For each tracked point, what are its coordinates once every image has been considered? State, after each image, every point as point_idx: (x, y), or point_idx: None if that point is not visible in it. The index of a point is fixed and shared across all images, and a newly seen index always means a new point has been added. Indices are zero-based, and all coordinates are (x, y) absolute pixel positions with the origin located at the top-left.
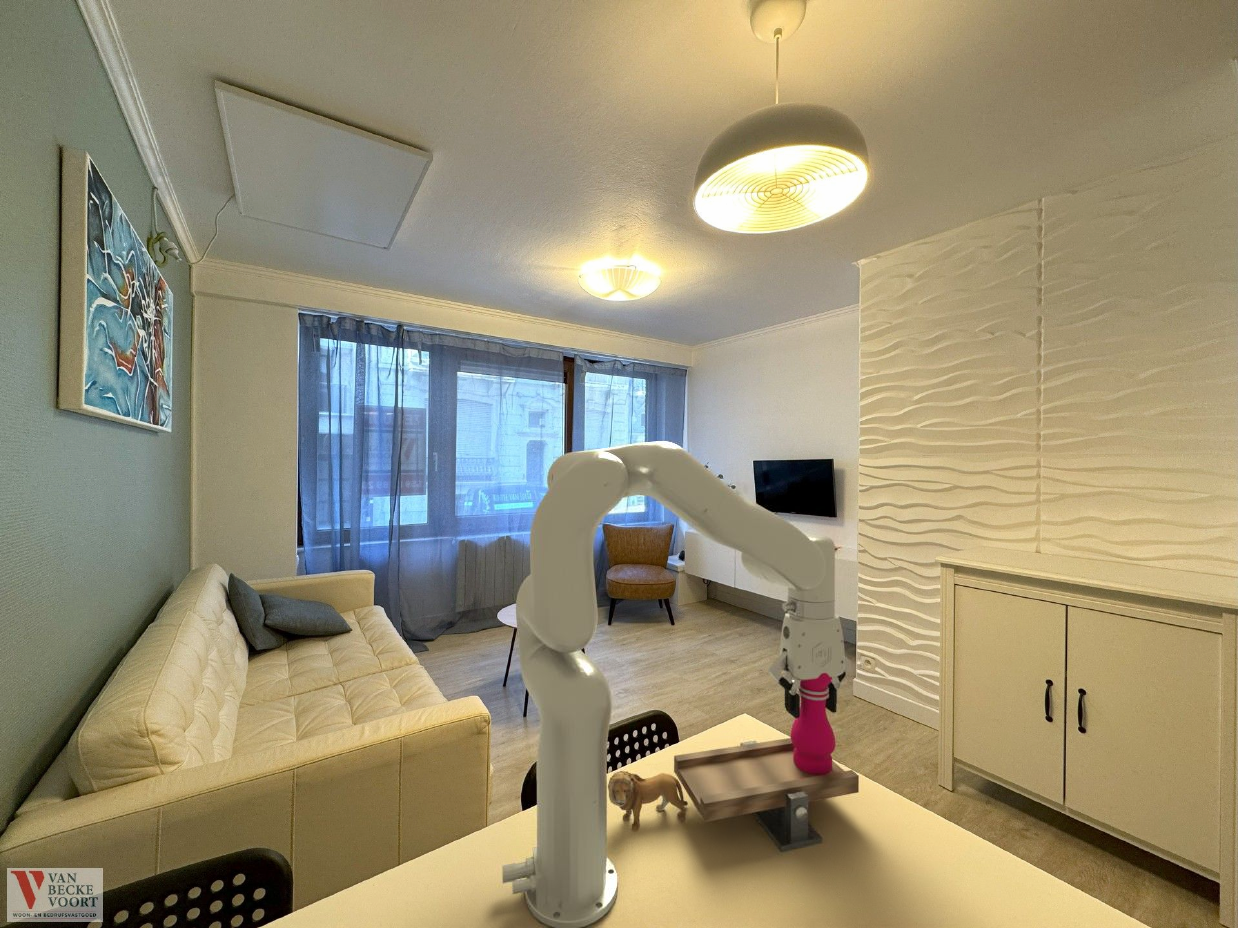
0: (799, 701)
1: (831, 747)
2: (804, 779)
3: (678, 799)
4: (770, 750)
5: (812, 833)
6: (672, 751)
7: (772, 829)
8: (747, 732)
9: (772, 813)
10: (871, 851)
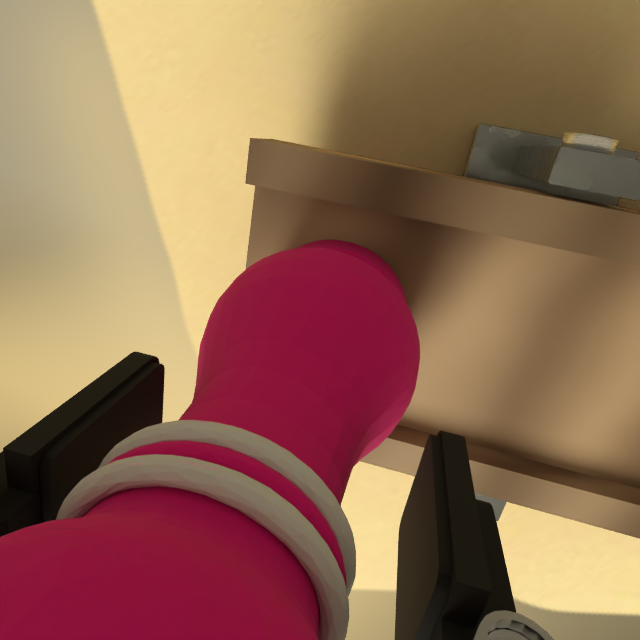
0: (438, 521)
1: (291, 253)
2: (492, 227)
3: None
4: (425, 438)
5: (492, 151)
6: (546, 606)
7: None
8: None
9: None
10: (368, 21)
